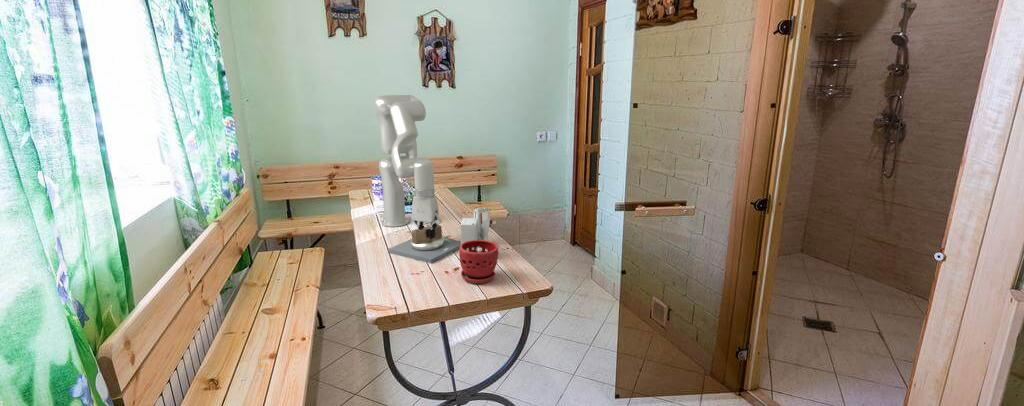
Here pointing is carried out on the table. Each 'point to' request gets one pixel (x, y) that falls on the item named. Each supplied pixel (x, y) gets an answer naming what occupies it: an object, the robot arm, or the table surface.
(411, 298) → the table surface
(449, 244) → the dial plate
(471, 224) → the skincare box
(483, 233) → the beer glass
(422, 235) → the tuning dial
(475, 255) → the plant pot
